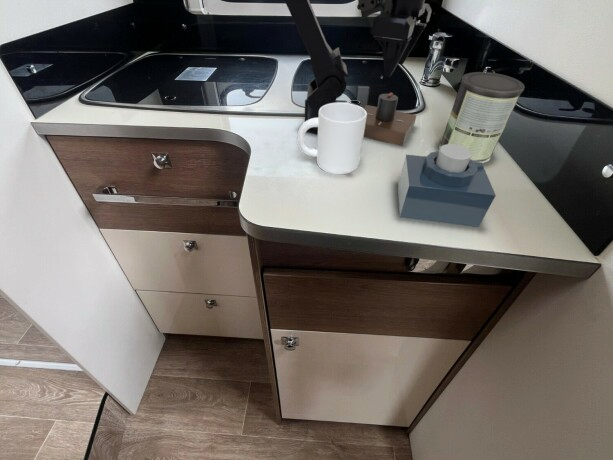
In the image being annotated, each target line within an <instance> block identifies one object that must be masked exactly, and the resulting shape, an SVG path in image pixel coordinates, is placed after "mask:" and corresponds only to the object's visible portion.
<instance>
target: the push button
mask: <svg viewBox="0 0 613 460" xmlns="http://www.w3.org/2000/svg"><path fill="white" fill-rule="evenodd" d="M438 151H439V153H438V156H437V159H436V165H437V166H438V167H440V168H441V169H444V170H446V171H449V172H457V173H459V172H464V171H465V170H466V168H467V165H468V163H469V161H470V158H471V156H472V153H471V152H470V150H468V149H467V148H465V147H463V146H460V145H455V144H446V145H443V146H441V148H440V150H439V149H438Z"/></svg>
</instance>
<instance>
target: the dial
mask: <svg viewBox="0 0 613 460" xmlns="http://www.w3.org/2000/svg"><path fill="white" fill-rule="evenodd" d="M398 101H399V97H398V96H397V95H396V94H394V93H393V92H389V93H381V94H379V95H378V100H377V106H376V107H377V111H376V119H378V120H380V121H386V122H387V121H392V120H393V119H394V115H395V111H397V105H398Z"/></svg>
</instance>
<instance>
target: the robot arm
mask: <svg viewBox="0 0 613 460" xmlns="http://www.w3.org/2000/svg"><path fill="white" fill-rule="evenodd" d="M425 1H426V0H357V2H358V4H357V5H356V8H357V10H358V11H360V15H361V19H366V18H368V17H369V16H372V15H374V14H377V13H380V12H382V11H383V13H382V14H380V15H378V17H377V18H376V19H374V20H373V21H372V27H371V32H370V34H371V36H373V39H374V40H375V41H377V42H378V44H379V45H380V46H381V50H382V59H383V72H384V77H385V78H391V77H392V76H393V74H394V72H395V70H396V68H397V66H398V65H404V63H405V62H406V60H407V59H408V57H409V55H410V53H411V51H412V50H413V48H414V47H415V45H416V44H417V41H418V40H419V38H420V37H421V35H422V33H423V32H424V31H425V28H426V27H427V24H428V23H429V22H430V18H431V16H432V15H431V14H432V11H433V10H432V7H431V6H430V4H429V3H425ZM284 2H285V5H286V7H287V10H288V11H289V14H290V16H291V18H292V20H293V22H294V24H295V27H296V29H297V31H298V33H299V36H300V37H301V39H302V42H303V44H304V47H305V48H306V51H307V53H308V56H309V58H310V62H311V68H312V72H313V75H314V76H313V77H314V78H313V79H312V80H311V81H310V82H309V83H308V84H307V86H308V87H307V95H306V99H305V100H304V122H305V121H307V120H309V119H312V118H318V117H319V109H320V108H321V107H322V106H324V105H326V104H330V103H338V100H337V99H338V98H340V97H341V96H343V95H344V93H345V92H346V89H347V77H348V76H349V74H348V69H347V64H346V63H345V62H344V61H343V59H342V54H341V51H340V47H336V48H335V49H332V48H331V46H330V45H329V44H328V42H327V40H326V37H325V35H324V33H323V31H322V28H321V26H320V23H319V21H318V18H317V16H316V14H315V11H314V9H313V6H312V4H311V1H310V0H284ZM421 21H423V23H422V22H421ZM306 133H311V134H315V135H318V127H312V128H309V129H308V130H307V131H306Z"/></svg>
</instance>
